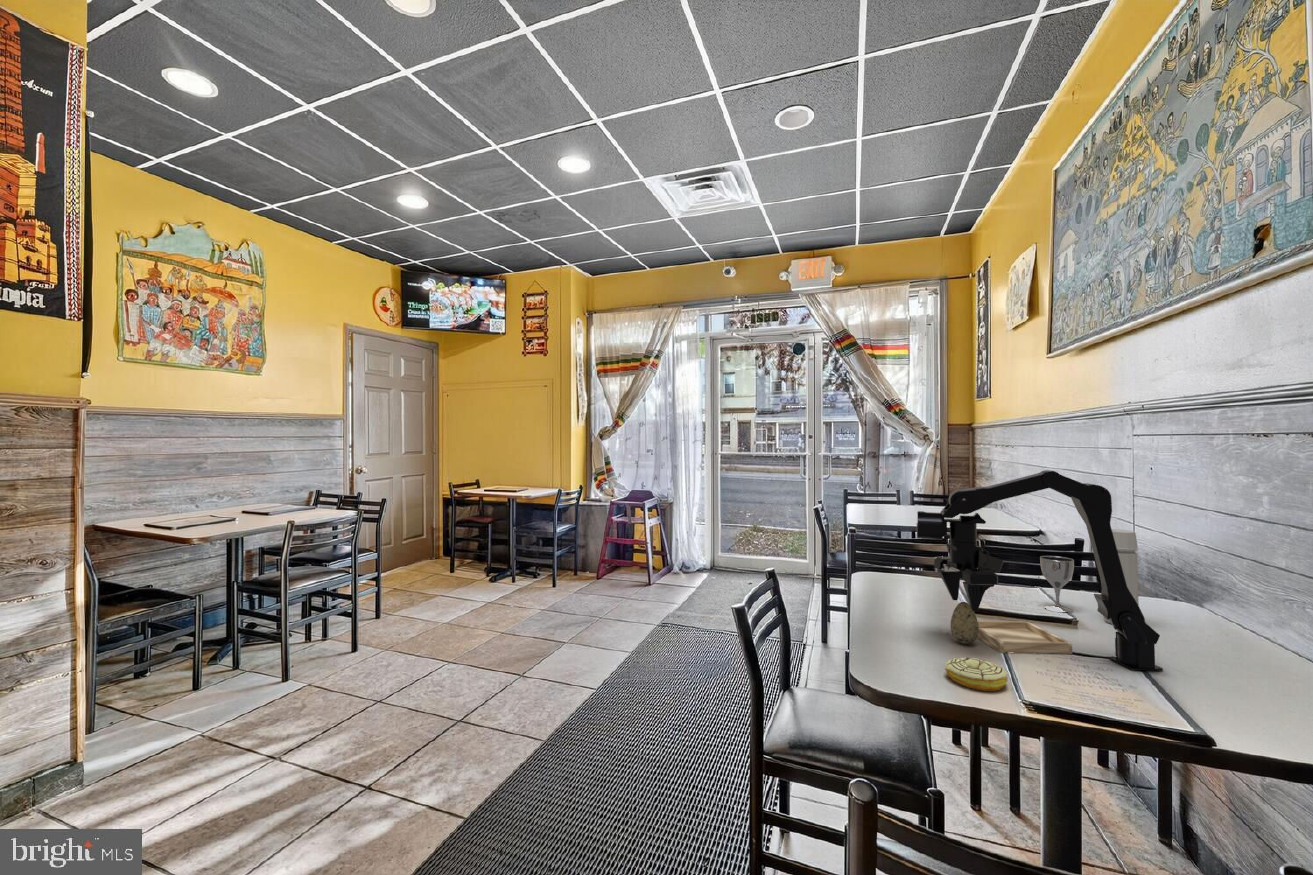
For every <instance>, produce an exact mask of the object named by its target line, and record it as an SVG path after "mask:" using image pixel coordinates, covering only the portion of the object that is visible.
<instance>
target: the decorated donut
mask: <svg viewBox="0 0 1313 875" xmlns="http://www.w3.org/2000/svg"><path fill="white" fill-rule="evenodd" d="M944 670H945V671H946V675H947V677H948V678H950V679H951V680H952V681H953V682H955V683H957V684H958V685H960V686H964V687H966V688H970V689H974V690H978V691H982V692H995V691H1000V690H1001V689H1003V688H1004V687H1005V686H1006V685H1007V683H1008V681H1009V680H1008V672H1007V671H1006V669H1004V668H1003V667H1002V666H1000V665H998V664H997V663H993V662H990V661H987V660H984V659H979V658H973V657H955V658H952V659H948V660H947V661H946V662H945V666H944Z"/></svg>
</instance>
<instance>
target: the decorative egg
mask: <svg viewBox="0 0 1313 875" xmlns="http://www.w3.org/2000/svg"><path fill="white" fill-rule="evenodd" d="M978 621H979V620H978V618H977V615H976V613H975V611H972V609H971V606H970V603H969V602H966V601H961V602H959V603H957V604H956V606H955V608H954V610H953V612H952V616H951V619H950V632H951V634H952V636H953V638H954V639H955V640H956V641H957V642H959V643H961V644H963V645H969V644H973V643H974V642H975V641H977V639H978V638H977V637H978V634H979V626H978Z"/></svg>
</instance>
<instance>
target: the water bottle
mask: <svg viewBox="0 0 1313 875" xmlns="http://www.w3.org/2000/svg"><path fill="white" fill-rule="evenodd" d="M1111 529H1112V528H1111ZM1112 533H1113V536H1114V540H1115V544H1116V547H1117V551H1118V555H1119V558H1120V562H1121V566H1122V569H1123V573H1124V577H1125V580H1126V584H1127V587H1128V589H1129V591H1130V592H1131V594H1132V596H1133V597H1134V599H1135V600H1136V602H1137V604H1138V606H1139V607H1140V604H1139V574H1138V573H1139V571H1138V569H1139V566H1138V565H1139V564H1138V553H1137V552H1138V551H1139V548H1138V540H1137V535H1136V534H1137V532H1135V531H1133V530H1127V529H1125V530H1124V529H1114V528H1113V529H1112ZM1103 619H1104V620H1105V621H1106V622H1107V623H1108V624H1110V625H1112V624H1111V623H1110V622H1109V621H1107V620H1106V619H1105V618H1104V617H1103Z"/></svg>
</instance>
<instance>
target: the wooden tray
mask: <svg viewBox="0 0 1313 875" xmlns="http://www.w3.org/2000/svg"><path fill="white" fill-rule="evenodd" d="M977 621H978V626H979V634H978V637H977V639H978V640H980V641H981V642H983V643H984V644H985V645H987V646H989V647H991V648H992V649H994V650H995V651H997V652H998V653H1000V654H1006V653H1005V652H1014V653H1013V654H1032V653H1061V654H1060V655H1073V643H1072V642H1069V641H1068V640H1065V639H1063V637H1062V638H1061V637H1059V636H1057V635H1055V634H1053V633H1051V632H1049V631H1047V630H1045V629H1043V628H1042V627H1039V626H1037V625H1036V624H1033V623H1031V622H1029V621H1016V620H1015V621H1012V620H1011V621H1010V620H1009V621H1008V620H1005V621H1003V620H977Z"/></svg>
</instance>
